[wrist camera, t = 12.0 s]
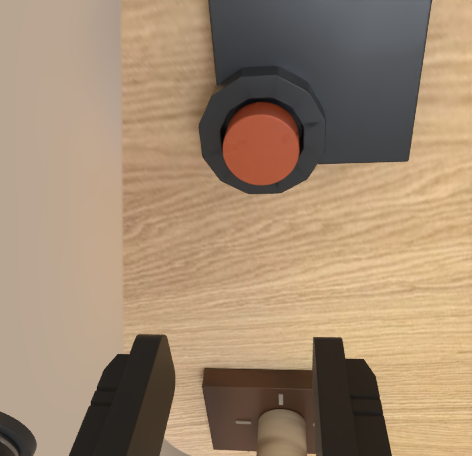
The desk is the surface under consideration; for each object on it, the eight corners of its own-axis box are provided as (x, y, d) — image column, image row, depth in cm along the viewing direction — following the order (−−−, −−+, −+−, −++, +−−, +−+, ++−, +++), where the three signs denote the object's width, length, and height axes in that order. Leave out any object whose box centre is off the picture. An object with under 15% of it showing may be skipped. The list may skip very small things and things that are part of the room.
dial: (305, 437, 43) (308, 501, 38) (259, 436, 44) (256, 499, 39) (305, 409, 41) (308, 473, 36) (256, 408, 41) (253, 471, 36)
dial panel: (215, 431, 47) (213, 451, 46) (205, 368, 42) (201, 387, 40) (352, 436, 46) (354, 457, 44) (359, 371, 40) (362, 392, 39)
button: (229, 170, 26) (225, 186, 25) (223, 102, 24) (218, 115, 23) (298, 168, 26) (299, 184, 24) (298, 99, 24) (299, 112, 22)
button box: (215, 166, 30) (206, 195, 27) (192, -39, 24) (178, -34, 21) (398, 160, 29) (413, 190, 26) (428, -59, 22) (453, -57, 19)
